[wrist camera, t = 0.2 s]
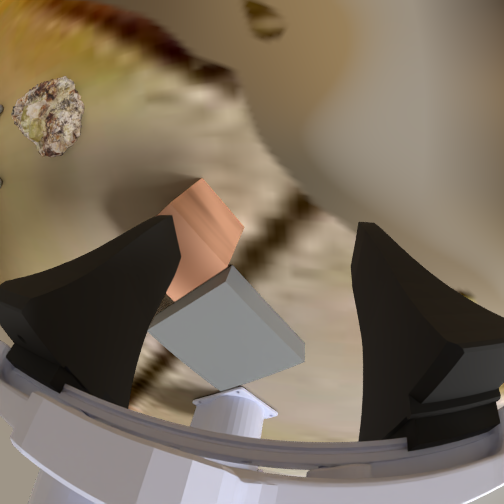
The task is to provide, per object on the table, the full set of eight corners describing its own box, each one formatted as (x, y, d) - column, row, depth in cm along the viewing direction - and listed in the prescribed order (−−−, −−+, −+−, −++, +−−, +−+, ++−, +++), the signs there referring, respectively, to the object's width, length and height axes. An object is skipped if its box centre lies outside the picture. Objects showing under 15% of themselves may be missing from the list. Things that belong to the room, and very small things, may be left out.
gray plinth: (225, 374, 31) (220, 391, 29) (156, 314, 28) (146, 330, 26) (304, 342, 27) (304, 361, 25) (232, 264, 24) (225, 281, 21)
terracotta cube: (200, 258, 24) (174, 301, 19) (160, 215, 22) (123, 248, 17) (244, 227, 22) (227, 267, 17) (202, 177, 20) (169, 202, 15)
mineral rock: (85, 79, 15) (46, 173, 17) (111, 92, 20) (76, 172, 21) (22, 64, 15) (-8, 139, 17) (47, 74, 19) (19, 141, 21)
